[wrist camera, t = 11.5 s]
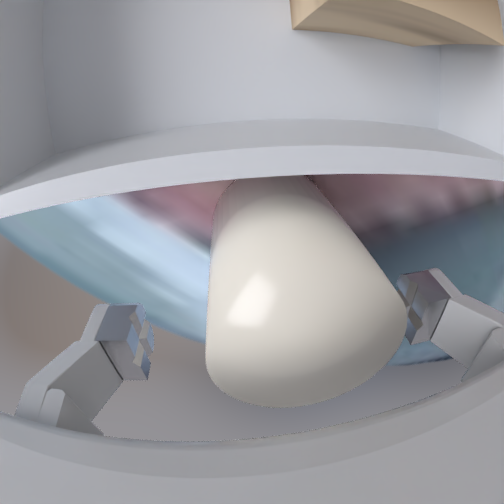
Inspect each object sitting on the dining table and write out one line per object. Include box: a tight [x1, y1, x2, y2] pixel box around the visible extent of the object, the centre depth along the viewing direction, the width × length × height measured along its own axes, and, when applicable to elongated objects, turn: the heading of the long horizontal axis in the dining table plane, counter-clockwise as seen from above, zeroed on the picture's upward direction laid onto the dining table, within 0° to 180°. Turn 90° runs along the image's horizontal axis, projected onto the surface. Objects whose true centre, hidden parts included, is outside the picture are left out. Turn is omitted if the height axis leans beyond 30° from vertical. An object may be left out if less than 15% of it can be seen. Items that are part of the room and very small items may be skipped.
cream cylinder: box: [206, 175, 407, 408], centre depth 9 cm, size 5×5×7 cm
